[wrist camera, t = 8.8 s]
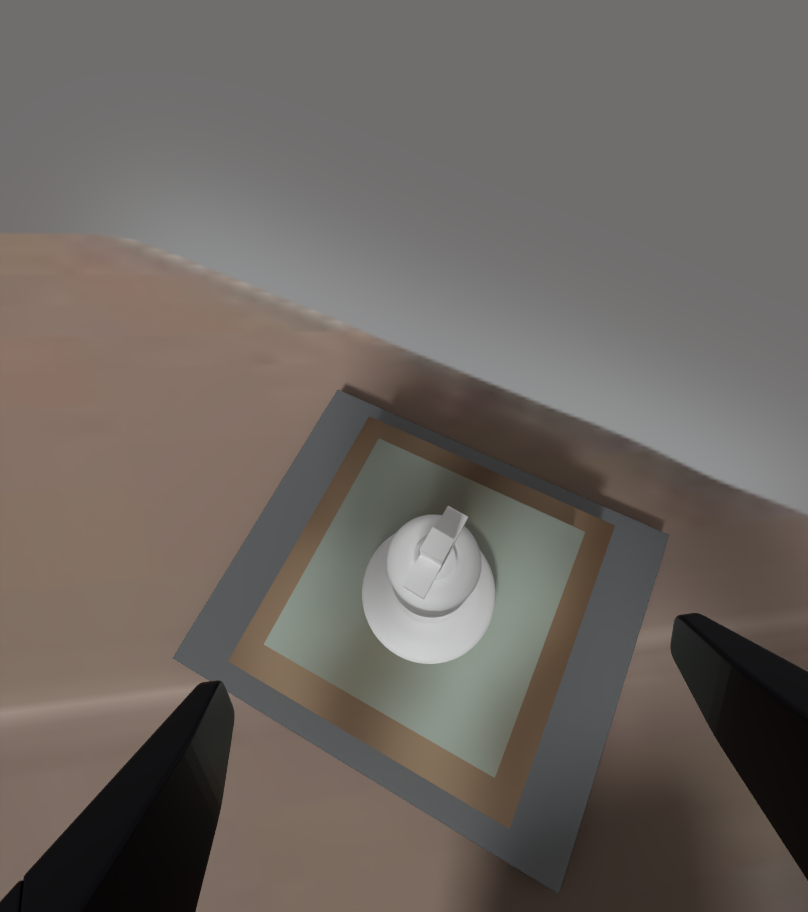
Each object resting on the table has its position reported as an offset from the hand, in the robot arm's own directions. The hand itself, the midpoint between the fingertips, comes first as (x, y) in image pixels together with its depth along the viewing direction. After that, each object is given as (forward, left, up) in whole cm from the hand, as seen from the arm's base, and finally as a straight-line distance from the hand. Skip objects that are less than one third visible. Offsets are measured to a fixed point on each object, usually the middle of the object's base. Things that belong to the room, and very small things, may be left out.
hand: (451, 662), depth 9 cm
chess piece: (+2, -1, -8) cm, 8 cm away
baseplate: (+2, -1, -13) cm, 13 cm away
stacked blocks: (+2, -1, -13) cm, 13 cm away
